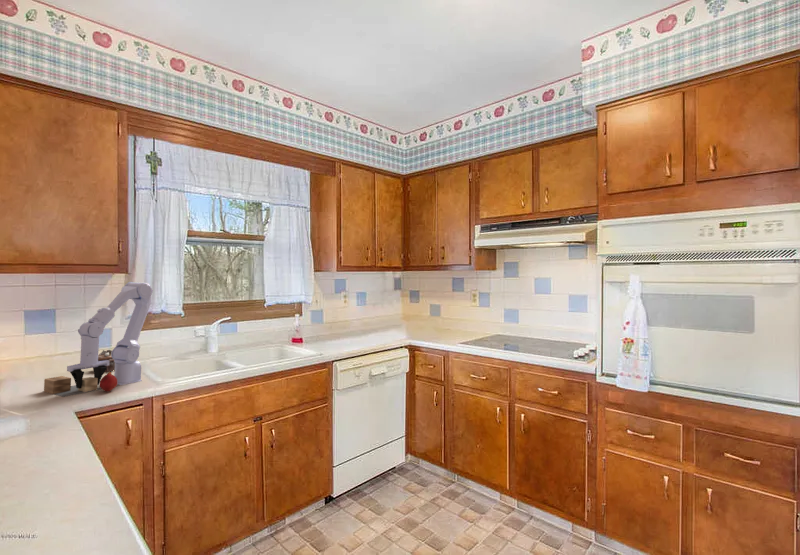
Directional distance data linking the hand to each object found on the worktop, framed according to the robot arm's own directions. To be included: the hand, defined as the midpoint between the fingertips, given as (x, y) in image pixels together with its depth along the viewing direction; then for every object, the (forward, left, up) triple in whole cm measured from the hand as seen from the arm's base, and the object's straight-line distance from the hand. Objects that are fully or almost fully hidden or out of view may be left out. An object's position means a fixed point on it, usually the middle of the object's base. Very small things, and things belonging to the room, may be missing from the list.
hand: (87, 386), depth 166 cm
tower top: (+7, -7, +1) cm, 10 cm away
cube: (0, 0, -1) cm, 1 cm away
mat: (+3, -4, -2) cm, 5 cm away
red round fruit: (-3, +8, -2) cm, 9 cm away
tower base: (+7, -7, -1) cm, 10 cm away
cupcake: (-24, -29, -2) cm, 38 cm away
